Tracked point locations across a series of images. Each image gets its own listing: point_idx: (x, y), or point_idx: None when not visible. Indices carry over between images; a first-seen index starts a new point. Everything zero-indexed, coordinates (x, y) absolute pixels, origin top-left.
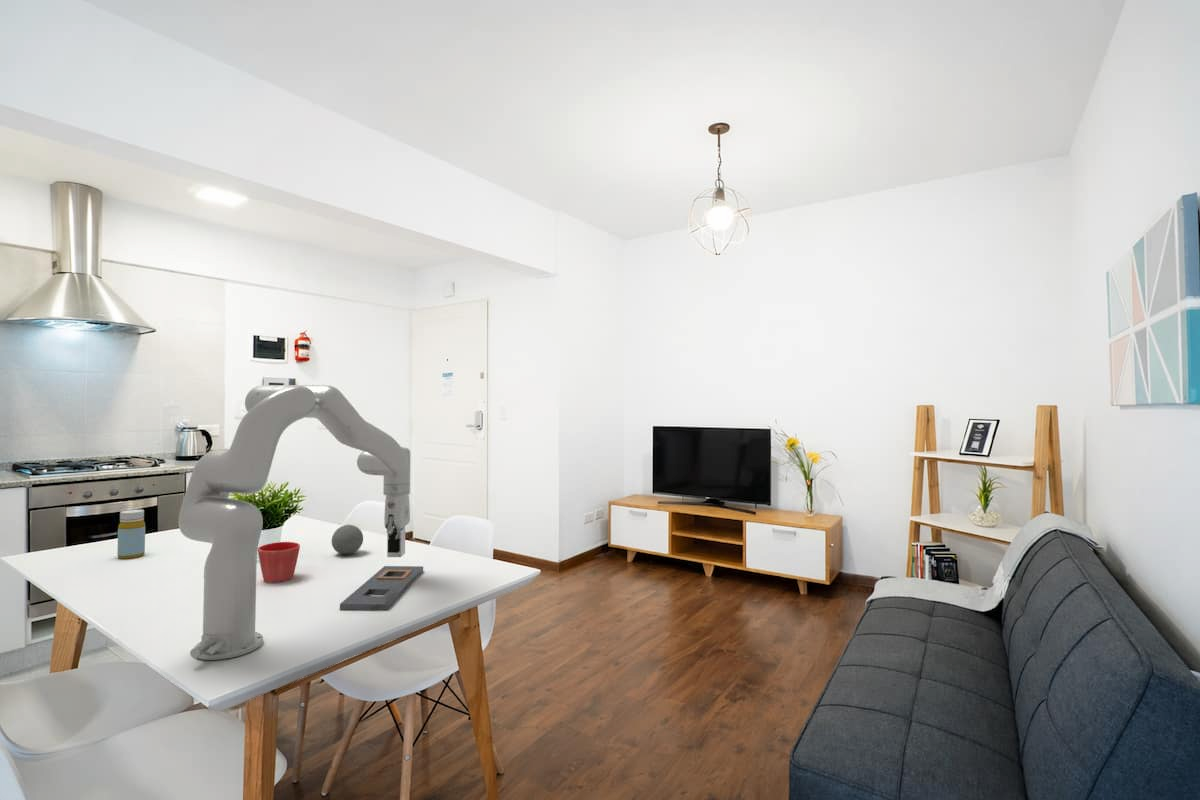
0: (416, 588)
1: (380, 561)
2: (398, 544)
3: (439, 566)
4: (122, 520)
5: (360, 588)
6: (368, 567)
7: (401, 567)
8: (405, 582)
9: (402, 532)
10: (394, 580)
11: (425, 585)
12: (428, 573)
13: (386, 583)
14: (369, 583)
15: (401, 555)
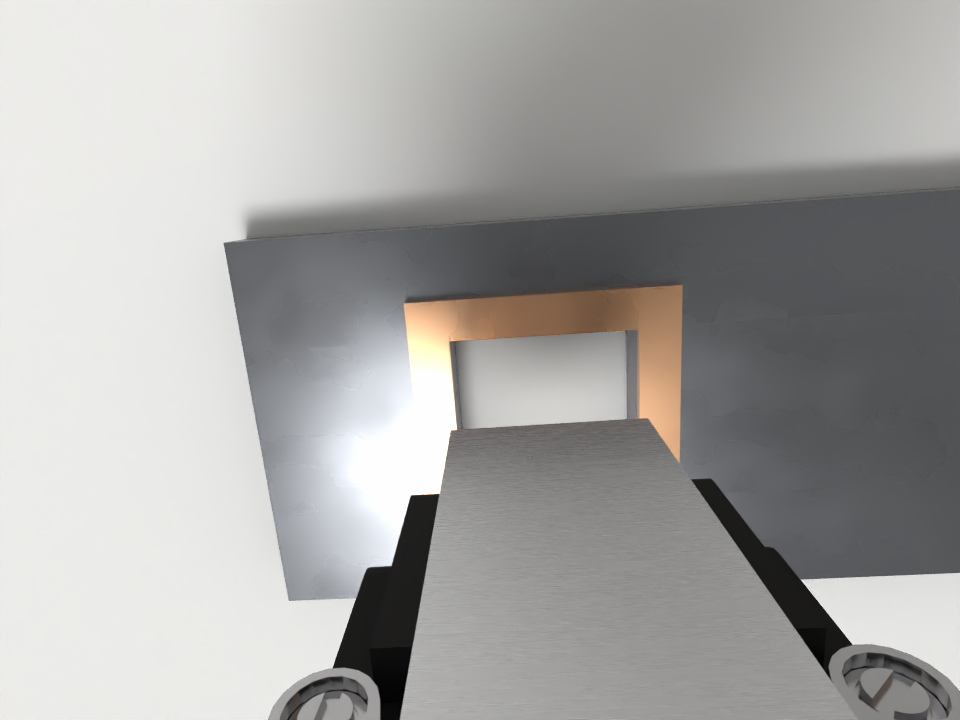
0: (792, 109)
1: (59, 690)
2: (761, 554)
3: (44, 125)
4: None
5: (952, 556)
6: (237, 714)
7: (303, 445)
8: (793, 230)
9: (698, 714)
10: (725, 360)
11: (696, 48)
12: (302, 160)
13: (821, 398)
14: (814, 538)
15: (624, 426)
